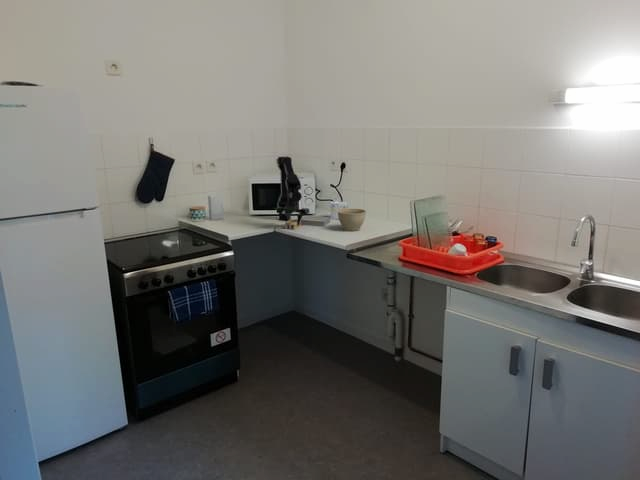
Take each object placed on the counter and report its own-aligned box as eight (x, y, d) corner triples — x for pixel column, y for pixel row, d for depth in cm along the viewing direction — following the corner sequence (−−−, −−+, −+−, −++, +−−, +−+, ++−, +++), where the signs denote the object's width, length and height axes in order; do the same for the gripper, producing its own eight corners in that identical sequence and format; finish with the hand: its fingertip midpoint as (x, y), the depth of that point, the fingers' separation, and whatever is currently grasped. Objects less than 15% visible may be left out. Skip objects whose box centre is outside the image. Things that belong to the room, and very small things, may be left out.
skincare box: (221, 217, 322) (220, 193, 318) (224, 219, 316) (223, 195, 313) (208, 218, 318) (207, 194, 314) (211, 220, 313) (210, 196, 309)
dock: (298, 224, 300) (298, 219, 299) (305, 220, 312) (305, 215, 311) (323, 226, 295) (323, 220, 294) (330, 222, 307) (330, 216, 306)
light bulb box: (347, 217, 321) (347, 201, 318) (347, 219, 314) (347, 203, 311) (331, 217, 322) (331, 201, 319) (330, 219, 315) (330, 202, 313)
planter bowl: (345, 225, 298) (345, 207, 295) (370, 228, 290) (370, 210, 287) (332, 230, 284) (332, 211, 282) (357, 233, 276) (358, 214, 274)
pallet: (285, 229, 289) (285, 222, 288) (291, 225, 298) (291, 219, 297) (294, 229, 287) (294, 222, 286) (301, 226, 296) (300, 219, 295)
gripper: (272, 200, 284) (273, 226, 287) (302, 201, 278) (303, 228, 282) (280, 197, 294) (280, 223, 298) (309, 198, 288) (309, 225, 292)
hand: (293, 225), depth 292 cm, fingers closed on pallet, 6 cm apart
